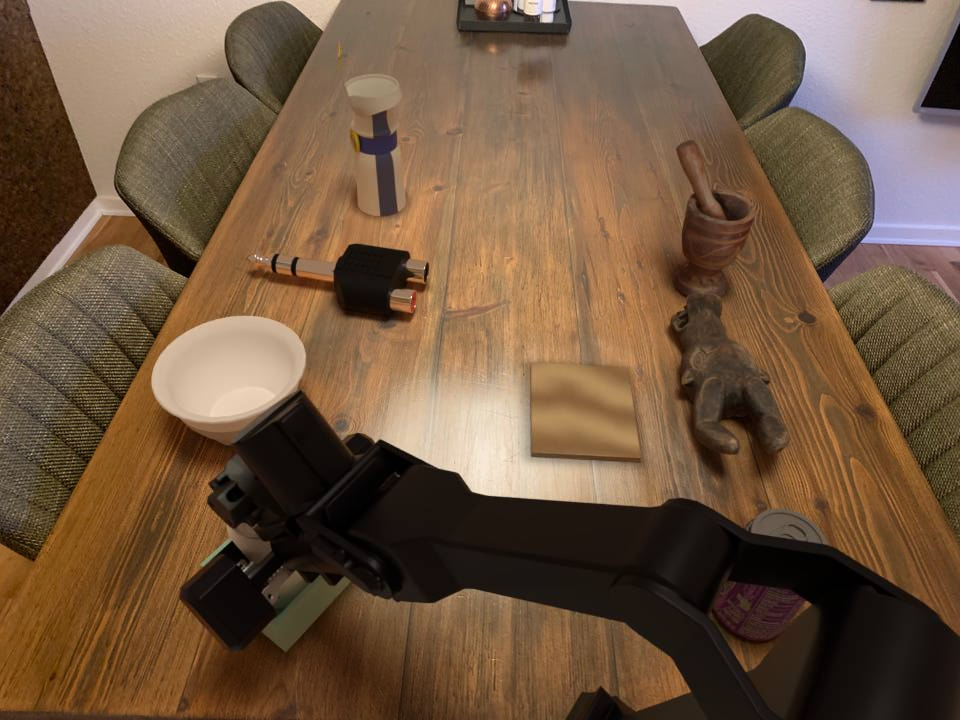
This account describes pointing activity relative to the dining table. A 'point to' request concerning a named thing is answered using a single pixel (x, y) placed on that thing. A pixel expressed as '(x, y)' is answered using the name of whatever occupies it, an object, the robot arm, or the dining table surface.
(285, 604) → the can
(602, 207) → the dining table surface
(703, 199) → the mortar and pestle
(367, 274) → the audio adapter
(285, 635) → the tote
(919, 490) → the dining table surface
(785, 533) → the beverage can
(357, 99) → the water bottle
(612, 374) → the board
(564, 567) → the robot arm
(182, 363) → the bowl
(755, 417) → the sculpture
